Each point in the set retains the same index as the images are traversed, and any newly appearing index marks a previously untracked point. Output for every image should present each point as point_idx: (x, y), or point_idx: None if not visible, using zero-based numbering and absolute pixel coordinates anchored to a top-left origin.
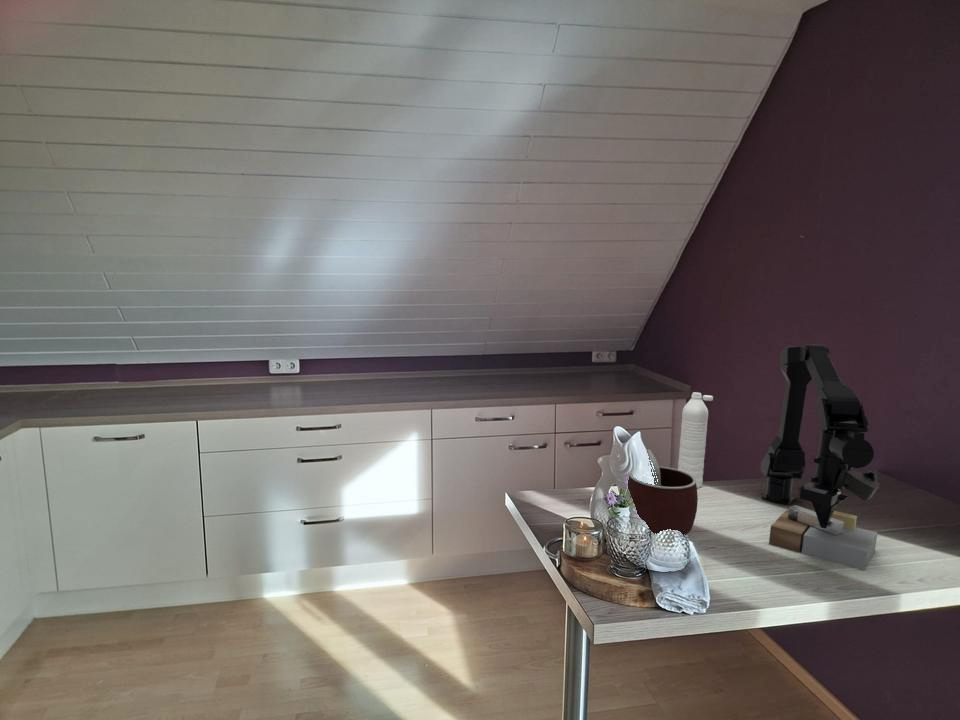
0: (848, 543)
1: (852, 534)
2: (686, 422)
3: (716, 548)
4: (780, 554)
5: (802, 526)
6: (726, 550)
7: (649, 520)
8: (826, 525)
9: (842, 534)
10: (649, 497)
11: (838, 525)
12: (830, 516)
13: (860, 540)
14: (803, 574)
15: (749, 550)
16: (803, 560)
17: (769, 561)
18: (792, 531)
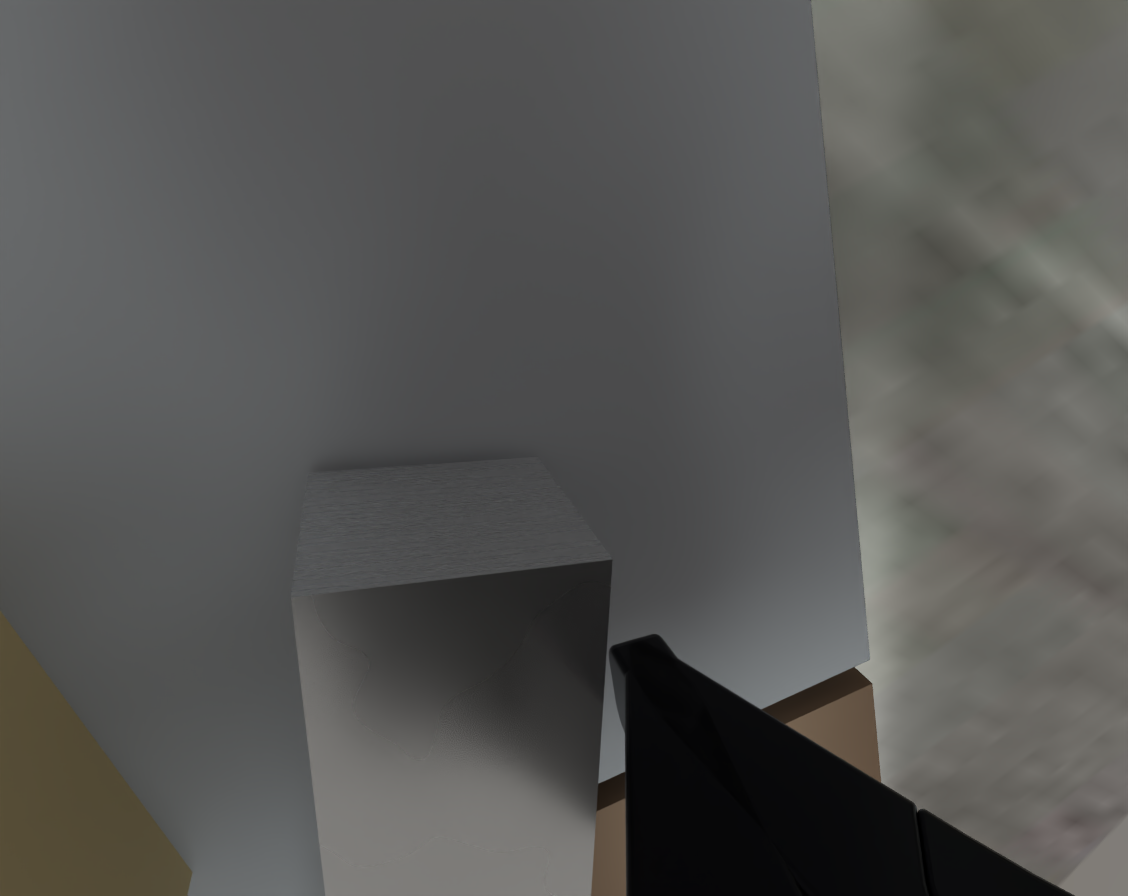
0: (676, 149)
1: (139, 333)
2: None
3: (1076, 803)
4: (890, 600)
5: (620, 842)
6: (1067, 767)
7: None
8: (677, 661)
9: (353, 437)
10: None
11: (552, 542)
12: (750, 798)
13: (296, 56)
14: (1119, 279)
15: (977, 724)
16: (867, 441)
17: (1057, 552)
18: (864, 768)
